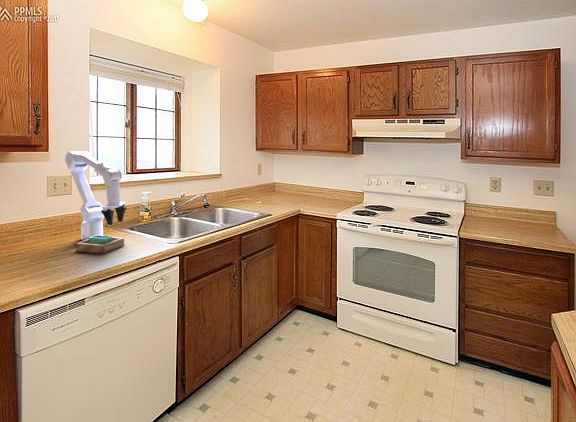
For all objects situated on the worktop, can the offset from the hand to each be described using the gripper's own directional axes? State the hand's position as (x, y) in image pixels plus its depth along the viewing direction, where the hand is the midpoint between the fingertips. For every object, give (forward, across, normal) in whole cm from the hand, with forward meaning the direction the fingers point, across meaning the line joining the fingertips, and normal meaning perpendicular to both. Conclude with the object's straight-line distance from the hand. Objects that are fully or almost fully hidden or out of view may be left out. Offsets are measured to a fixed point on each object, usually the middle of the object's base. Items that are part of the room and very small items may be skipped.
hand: (115, 223), depth 183 cm
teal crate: (+9, -11, 0) cm, 14 cm away
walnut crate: (+9, -11, 0) cm, 14 cm away
